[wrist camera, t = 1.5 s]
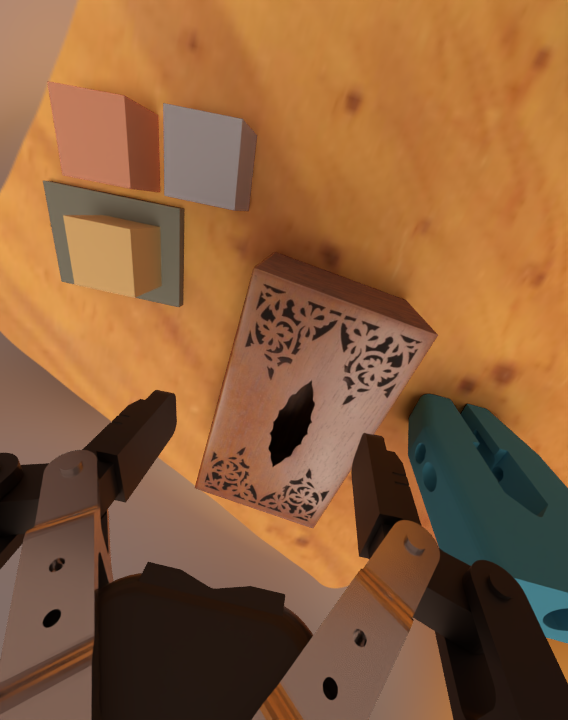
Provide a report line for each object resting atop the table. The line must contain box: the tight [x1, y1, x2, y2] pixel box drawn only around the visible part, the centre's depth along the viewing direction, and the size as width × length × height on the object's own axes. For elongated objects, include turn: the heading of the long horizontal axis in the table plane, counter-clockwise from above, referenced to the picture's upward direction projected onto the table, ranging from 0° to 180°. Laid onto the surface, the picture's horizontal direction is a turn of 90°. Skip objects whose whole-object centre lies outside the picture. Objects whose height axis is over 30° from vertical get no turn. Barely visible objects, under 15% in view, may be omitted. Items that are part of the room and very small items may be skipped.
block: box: [408, 394, 568, 643], centre depth 27 cm, size 12×5×20 cm, turn 77°
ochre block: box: [63, 215, 162, 298], centre depth 28 cm, size 6×6×5 cm
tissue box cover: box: [195, 252, 438, 528], centre depth 31 cm, size 26×14×10 cm, turn 162°
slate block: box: [163, 103, 257, 211], centre depth 25 cm, size 6×6×5 cm
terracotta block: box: [47, 81, 160, 192], centre depth 25 cm, size 6×6×5 cm
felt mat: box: [43, 181, 184, 307], centre depth 31 cm, size 10×14×1 cm
